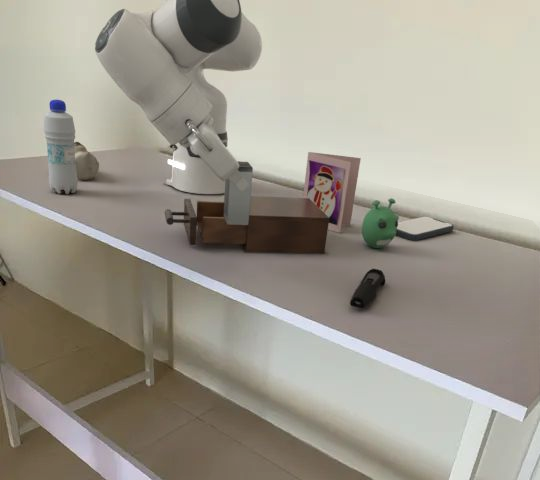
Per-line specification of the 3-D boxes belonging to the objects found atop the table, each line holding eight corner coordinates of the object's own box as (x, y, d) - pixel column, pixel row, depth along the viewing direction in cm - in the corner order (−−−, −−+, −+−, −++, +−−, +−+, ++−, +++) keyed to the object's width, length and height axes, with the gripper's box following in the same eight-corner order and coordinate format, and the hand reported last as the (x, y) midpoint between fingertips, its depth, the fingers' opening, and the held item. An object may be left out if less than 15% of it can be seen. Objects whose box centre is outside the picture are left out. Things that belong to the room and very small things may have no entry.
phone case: (413, 242, 131) (455, 232, 140) (414, 235, 130) (456, 225, 140) (381, 231, 136) (424, 222, 146) (383, 224, 136) (425, 215, 145)
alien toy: (376, 255, 120) (385, 205, 115) (351, 243, 125) (359, 195, 120) (402, 252, 123) (411, 203, 118) (377, 240, 129) (385, 193, 124)
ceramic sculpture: (66, 145, 144) (44, 138, 154) (69, 182, 148) (47, 173, 158) (108, 144, 150) (84, 137, 160) (110, 180, 154) (86, 171, 164)
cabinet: (246, 252, 114) (248, 215, 111) (234, 229, 127) (236, 195, 123) (324, 253, 118) (329, 217, 114) (305, 231, 130) (309, 198, 127)
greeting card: (297, 220, 137) (305, 152, 130) (318, 216, 142) (326, 150, 135) (337, 233, 131) (348, 162, 124) (357, 228, 136) (368, 160, 129)
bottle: (70, 196, 137) (64, 102, 128) (43, 192, 138) (34, 98, 129) (84, 190, 143) (79, 100, 134) (58, 187, 144) (51, 96, 135)
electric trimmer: (342, 312, 94) (345, 293, 92) (365, 280, 107) (368, 263, 105) (365, 317, 93) (369, 298, 91) (385, 284, 106) (389, 267, 104)
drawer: (167, 244, 111) (167, 216, 109) (163, 223, 123) (163, 197, 120) (265, 247, 115) (268, 219, 113) (252, 226, 127) (254, 201, 124)
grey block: (226, 224, 101) (230, 166, 96) (223, 217, 104) (226, 160, 100) (248, 225, 102) (253, 167, 97) (244, 217, 105) (248, 161, 101)
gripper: (207, 111, 84) (268, 185, 91) (192, 95, 101) (245, 158, 108) (174, 142, 85) (237, 213, 92) (165, 121, 102) (219, 182, 109)
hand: (242, 183), depth 100 cm, fingers closed on grey block, 4 cm apart
